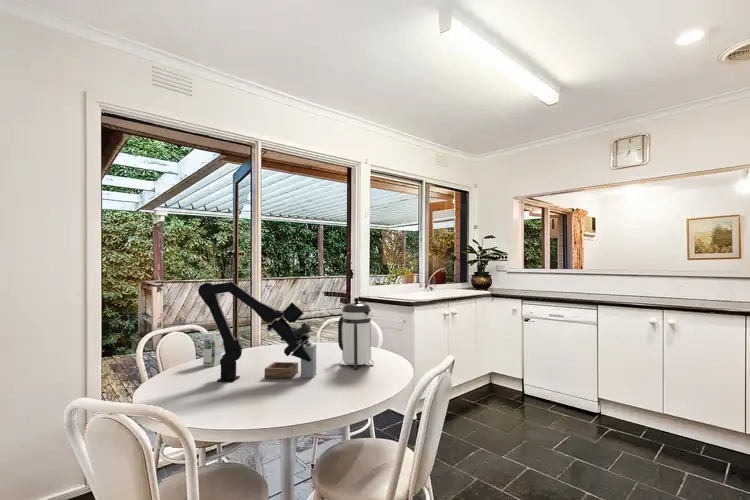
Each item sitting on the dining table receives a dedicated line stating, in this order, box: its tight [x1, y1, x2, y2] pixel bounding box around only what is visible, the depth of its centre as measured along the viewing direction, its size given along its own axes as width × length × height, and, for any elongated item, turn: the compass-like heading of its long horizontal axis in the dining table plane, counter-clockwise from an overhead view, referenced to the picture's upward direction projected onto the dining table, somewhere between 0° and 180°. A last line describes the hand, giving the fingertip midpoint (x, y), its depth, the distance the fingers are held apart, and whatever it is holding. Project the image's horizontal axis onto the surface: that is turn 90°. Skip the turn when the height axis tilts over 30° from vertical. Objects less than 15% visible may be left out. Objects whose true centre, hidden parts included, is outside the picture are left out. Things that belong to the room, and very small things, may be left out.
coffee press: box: [337, 297, 375, 371], centre depth 172 cm, size 17×16×30 cm
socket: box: [264, 361, 299, 380], centre depth 156 cm, size 10×10×4 cm
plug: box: [300, 342, 317, 379], centre depth 155 cm, size 5×5×13 cm
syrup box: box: [202, 331, 223, 367], centre depth 174 cm, size 6×6×14 cm
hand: (312, 359), depth 155 cm, fingers closed on plug, 5 cm apart
